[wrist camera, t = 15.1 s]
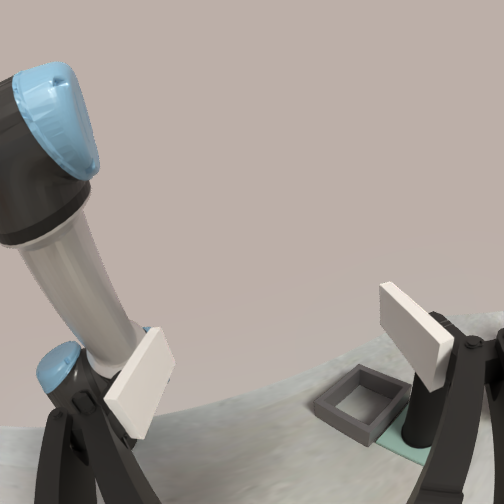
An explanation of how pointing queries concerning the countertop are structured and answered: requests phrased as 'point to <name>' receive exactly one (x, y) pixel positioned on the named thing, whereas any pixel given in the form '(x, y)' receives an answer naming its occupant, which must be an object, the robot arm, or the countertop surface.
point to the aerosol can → (423, 414)
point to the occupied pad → (396, 444)
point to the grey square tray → (373, 382)
